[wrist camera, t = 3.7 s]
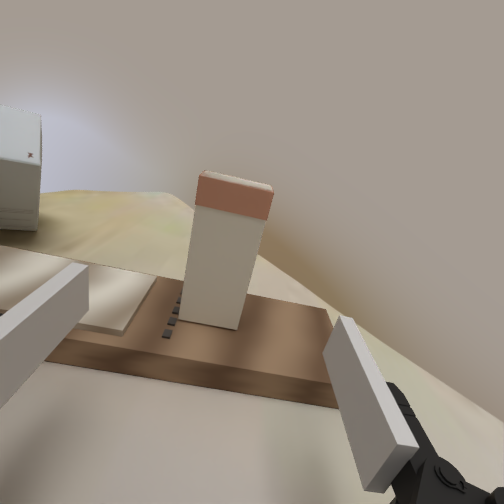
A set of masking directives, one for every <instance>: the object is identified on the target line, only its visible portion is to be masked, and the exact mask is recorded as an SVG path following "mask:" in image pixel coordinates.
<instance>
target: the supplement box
mask: <svg viewBox="0 0 504 504" xmlns="http://www.w3.org/2000/svg"><path fill="white" fill-rule="evenodd" d="M41 165H42V131H41V116H40V115H39V114H35V113H31V112H27V111H24V110H20V109H16V108H12V107H8V106H4V105H0V229H9V230H26V231H37V227H38V215H39V199H40V181H41Z"/></svg>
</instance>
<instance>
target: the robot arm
mask: <svg viewBox="0 0 504 504" xmlns="http://www.w3.org/2000/svg"><path fill="white" fill-rule="evenodd" d="M88 311H89V265H84V264H79V263H74V262H72V263H71V264H70V265H68V266H67V267H66V268H64V269H63V270H62V271H60V272H59V273H58V274H56V275H55V276H54V277H52V278H51V279H50V280H48V281H47V282H46V283H44V284H43V285H42V286H40V287H39V288H38V289H36V290H35V291H34V292H32V293H31V294H30V295H28V296H27V297H26V298H24V299H23V300H22V301H20V302H19V303H18V304H16V305H15V306H14V307H12V308H11V309H10V310H8V311H7V312H6V313H4V314H2V313H0V409H1V408H2V407H3V406H4V405H5V404H6V402H7V401H8V400H9V399H10V398H11V397H12V396H13V395H14V393H15V392H16V391H17V390H18V389H19V388H20V387H21V386H22V385H23V383H24V382H25V381H26V380H27V379H28V378H29V377H30V376H31V374H32V373H33V372H34V371H35V370H36V369H37V368H38V367H39V366H40V364H41V363H42V362H43V361H44V360H45V359H46V358H47V357H48V355H49V354H50V353H51V352H52V351H53V350H54V349H55V348H56V347H57V345H58V344H59V343H60V342H61V341H62V340H63V339H64V338H65V336H66V335H67V334H68V333H69V332H70V331H71V330H72V329H73V327H74V326H75V325H76V324H77V323H78V322H79V321H80V320H81V319H82V317H83V316H84V315H85V314H86V313H87V312H88ZM322 354H323V357H324V360H325V364H326V367H327V370H328V374H329V377H330V380H331V383H332V387H333V390H334V393H335V397H336V400H337V403H338V407H339V410H340V413H341V417H342V420H343V423H344V426H345V430H346V433H347V436H348V440H349V443H350V446H351V450H352V453H353V456H354V459H355V463H356V466H357V469H358V473H359V476H360V479H361V483H362V486H363V489H364V491H369V492H377V493H385V491H386V490H387V489H388V487H389V486H390V485H392V487H393V490H394V493H395V495H396V496H395V498H394V499H393V500H392V501H391V502H390V504H504V487H497V488H496V489H495V490H494V491H493V492H492V493H491V494H490V493H488V492H486V491H484V490H482V489H480V488H478V487H476V486H474V485H471V484H469V483H467V482H466V481H465V479H464V477H463V476H462V475H461V474H460V472H459V471H458V470H457V469H456V468H455V467H454V466H453V465H452V464H450V463H449V462H448V461H446V460H445V459H443V458H441V457H439V456H438V455H437V453H436V451H435V449H434V447H433V446H432V444H431V442H430V440H429V439H428V437H427V435H426V433H425V431H424V430H423V428H422V426H421V424H420V422H419V421H418V419H417V418H416V417H415V416H416V415H415V414H414V412H413V410H412V408H410V405H409V403H408V401H407V399H406V397H405V396H404V394H403V393H402V392H401V391H400V390H399V389H398V387H397V386H396V385H395V384H394V383H390V382H385V380H384V378H383V376H382V374H381V372H380V370H379V368H378V366H377V364H376V362H375V360H374V358H373V356H372V355H371V353H370V351H369V349H368V347H367V345H366V343H365V341H364V339H363V337H362V335H361V333H360V331H359V329H358V327H357V325H356V324H355V322H354V320H353V318H350V317H345V316H340V315H339V317H338V319H337V322H336V324H335V326H334V328H333V331H332V333H331V335H330V337H329V340H328V342H327V344H326V346H325V349H324V351H323V353H322Z"/></svg>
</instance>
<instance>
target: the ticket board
mask: <svg viewBox="0 0 504 504" xmlns="http://www.w3.org/2000/svg"><path fill="white" fill-rule="evenodd" d="M72 262H74V263H79V264H84V265H89V311H88V312H87V313H86V314H85V315H84V316H83V317H82V319H81V320H80V321H79V322H78V323H77V324H76V325H75V326H74V327H73V329H72V330H71V331H70V332H69V333H68V334H67V335H66V336H65V338H64V339H63V340H62V341H61V342H60V343H59V344H58V345H57V347H56V348H55V349H54V350H53V351H52V352H51V353H50V354H49V355H48V357H47V358H46V359H45V360H44V361H50V362H56V363H62V364H68V365H74V366H80V367H86V368H92V369H99V370H105V371H111V372H117V373H123V374H129V375H135V376H141V377H147V378H154V379H160V380H166V381H172V382H178V383H184V384H190V385H196V386H203V387H209V388H215V389H221V390H227V391H233V392H239V393H245V394H251V395H258V396H264V397H270V398H276V399H282V400H288V401H294V402H300V403H306V404H313V405H319V406H325V407H331V408H337V409H339V407H338V403H337V400H336V397H335V393H334V390H333V387H332V383H331V380H330V377H329V374H328V370H327V367H326V364H325V360H324V357H323V354H322V353H323V351H324V349H325V346H326V344H327V342H328V340H329V337H330V335H331V333H332V331H333V326H332V324H331V321H330V319H329V316H328V314H327V311H326V309H322V308H317V307H312V306H307V305H302V304H297V303H292V302H286V301H281V300H276V299H271V298H266V297H261V296H256V295H251V294H246V298H245V301H244V305H243V309H242V313H241V317H240V320H239V324H238V328H237V330H234V329H229V328H224V327H218V326H213V325H207V324H202V323H196V322H191V321H186V320H180V319H178V317H179V310H180V304H181V297H182V291H183V284H184V281H180V280H175V279H170V278H165V277H160V276H155V275H150V274H145V273H140V272H135V271H130V270H125V269H120V268H115V267H110V266H105V265H100V264H95V263H89V262H84V261H79V260H74V259H69V258H64V257H59V256H54V255H49V254H44V253H39V252H34V251H29V250H24V249H19V248H14V247H9V246H2V245H0V313H2V314H4V313H6V312H7V311H8V310H10V309H11V308H12V307H14V306H15V305H16V304H18V303H19V302H20V301H22V300H23V299H24V298H26V297H27V296H28V295H30V294H31V293H32V292H34V291H35V290H36V289H38V288H39V287H40V286H42V285H43V284H44V283H46V282H47V281H48V280H50V279H51V278H52V277H54V276H55V275H56V274H58V273H59V272H60V271H62V270H63V269H64V268H66V267H67V266H68V265H70V264H71V263H72Z"/></svg>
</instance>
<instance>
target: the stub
mask: <svg viewBox="0 0 504 504" xmlns="http://www.w3.org/2000/svg"><path fill="white" fill-rule="evenodd" d="M273 195H274V191H273V188H272V186H271V185H266V184H262V183H258V182H254V181H250V180H246V179H241V178H237V177H233V176H229V175H225V174H220V173H216V172H212V171H208V170H204V171H203V172H202V173H201V174H200V175H199V180H198V187H197V193H196V200H195V205H196V206H195V212H194V219H193V225H192V232H191V238H190V245H189V251H188V258H187V265H186V271H185V278H184V284H183V291H182V297H181V304H180V310H179V317H178V319H180V320H186V321H191V322H196V323H202V324H207V325H213V326H218V327H224V328H229V329H234V330H237V328H238V324H239V320H240V317H241V313H242V309H243V305H244V301H245V298H246V294H247V290H248V286H249V283H250V279H251V275H252V271H253V268H254V264H255V260H256V256H257V252H258V248H259V245H260V241H261V237H262V233H263V230H264V226H265V222H266V220H267V218H268V214H269V210H270V206H271V202H272V199H273Z"/></svg>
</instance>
